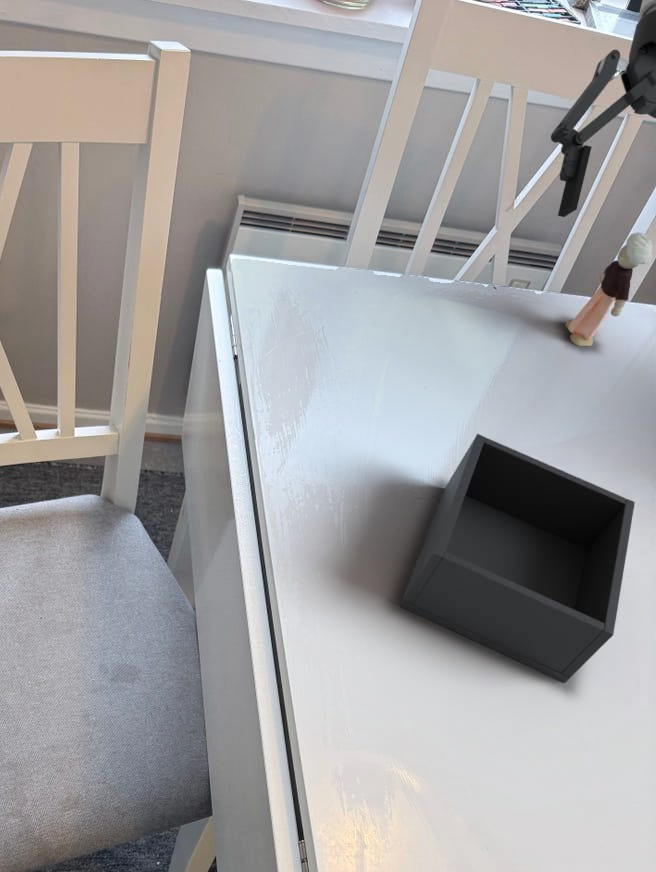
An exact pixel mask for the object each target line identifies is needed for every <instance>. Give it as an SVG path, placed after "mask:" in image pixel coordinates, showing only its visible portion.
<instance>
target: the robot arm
mask: <svg viewBox="0 0 656 872" xmlns="http://www.w3.org/2000/svg"><path fill="white" fill-rule="evenodd" d="M639 9H640V10H639V13H638V22H637V23H636V26H635V28H634V33H633V38H632V41H631V46H630V49H629V53H628V60H627V59H624V58H622V57H621V52H620V50H618V49H612V50H611V51H610V52H609V53H608V54H607V55H605V56H604V57H603V58H602V59H601V60H600V61H599V62H598V64H597V65H596V68H595V71H594V74H593V77H592V80H591V81H590V82H589V84H588V85H587V86H586V87H585V89H584V90H583V92H582V93H581V94H580V96H579V97H578V99H577V100H576V101H575V102H574V104H573V105H572V106H571V107H570V109H569V110H568V112H567V113H566V114H565V115H564V117H563V118H562V119H561V120H560V122H559V123H558V125H557V126H556V127H555V129H554V130H553V131H552V132H551V134H550V140H551V141H552V142H553V143H555V144H557V143H559V144H560V145H561V148H560V152H561V154H563V159H562V160H563V161H562V163H561V168H560V172H559V181H561V182H565V185H564V188H563V193H562V196H561V200H560V205H559V209H558V213H557V216H558V217H562V218H565V217H568V216H569V215H570V214H572V213H573V212H575V211H577V210H578V206H579V203H580V202H579V201H580V197H581V192H582V189H583V185H584V180H585V176H586V172H587V168H588V164H589V160H590V156H591V151H592V146H590V145H586V144H584V143H586V142H587V141H588V140H590V139H591V138H592V137H593V136H594V135H595V134H597V133H598V132H599V131H600V130H602V129H603V128H604V127H605V126H606V125H608V124H609V123H610V122H611V121H613V120H614V119H615V118H616V117H617V116H619V115H620V114H622V112H623V111H624V110H626V109H627V108H628V107H629V106H630V108H631V110H633V113H634V114H636V115H648V116H650V117H652V118H653V119H656V0H641V6H640V8H639ZM619 75H620V79H621V82H622V86H623V88H624V91H625V93H624V94H623V95H622V96H620V97H619V98H618V99H616V101H615V102H613V103H612V104H611V105H610V106H609V107H608V108H606V109H605V110H604V111H602V112H601V113H600V114H599V115H598V116H596V117H595V118H594V119H592V121H590V122H589V123H588V124H587V125H586V126H584V127H583V128H582V129H581V130H579V131H577V129H575V127H576V126H577V125H578V123H579V122H580V121H581V119H582V118H583V117H584V116H585V114H586V113H587V112H588V110H589V109H590V108H591V106H592V105H593V104H594V103H595V101H596V100H597V99H598V97H599V96H600V95H601V93H602V92H603V91H604V89H605V88H606V87H607V85H608V84H609V83H610V82H612V81H614V79H616V78H617V77H619Z"/></svg>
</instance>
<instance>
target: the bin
mask: <svg viewBox="0 0 656 872" xmlns="http://www.w3.org/2000/svg"><path fill="white" fill-rule="evenodd" d="M635 504H636V502H635V501H633V500H631V499H628V498H626V497H624V496H622V495H620V494H618V493H615V492H612V491H610V490H608V489H605V488H603V487H601V486H599V485H596V484H594V483H592V482H589V481H587V480H585V479H583V478H580V477H578V476H575V475H574V474H571V473H569V472H566V471H564V470H562V469H560V468H557V467H555V466H553V465H550V464H548V463H546V462H544V461H541V460H539V459H537V458H534V457H532V456H530V455H528V454H525V453H523V452H520V451H518V450H516V449H513V448H511V447H510V446H506V445H504V444H502V443H500V442H498V441H496V440H493V439H491V438H489V437H486V436H484V435H482V434H480V433H477V434H476V435H475V437H474V439H473V440H472V442H471V443H470V445H469V446H468V449H467V450H466V452H465V454H464V455H463V457H462V459H461V460H460V462H459V464H458V465H457V467H456V469H455V470H454V473H453V474H452V475H451V477H450V479H449V481H448V482H447V484H446V486H445V487H444V490H443V492H442V495H441V497H440V500H439V503H438V505H437V508H436V511H435V513H434V516H433V519H432V521H431V523H430V526H429V528H428V532H427V534H426V537H425V539H424V542H423V543H422V547H421V549H420V552H419V556H418V557H417V560H416V563H415V565H414V568H413V570H412V573H411V576H410V578H409V581H408V583H407V586H406V589H405V591H404V594H403V597H402V599H401V602H400V603H399V607H400V608H403V609H405V610H407V611H409V612H412V613H413V614H416V615H418V616H419V617H420V616H421V617H422V618H425V619H426V620H429V621H431V622H433V623H436V624H437V625H439V626H441V627H444V628H446V629H448V630H450V631H453V632H454V633H457V634H459V635H461V636H463V637H465V638H468V639H470V640H472V641H474V642H476V643H478V644H481V645H483V646H485V647H487V648H489V649H491V650H493V651H495V652H498V653H500V654H502V655H504V656H506V657H509V658H510V659H512V660H514V661H517V662H519V663H522V664H524V665H526V666H528V667H529V668H532V669H535V670H536V671H539V672H541V673H543V674H545V675H547V676H549V677H552V678H554V679H556V680H558V681H560V682H563V683H567V682H568V681H569V680H570V679H571V678H572V677H573V676H574V675H575V674H576V673H577V672H578V671H579V670H580V669H581V668H582V667H583V666H584V665H585V664H586V663H587V662H588V661H589V660H590V659H591V658H592V657H593V656H594V655H595V654H596V653H597V652H598V651H599V650H600V649H601V648H602V647H603V646H604V645H606V643H607V642H608V641H609V640H610V639H611V638H612V637H613V636H614V633H615V628H616V622H617V621H616V620H617V616H618V609H619V603H620V602H619V601H620V596H621V591H622V584H623V577H624V572H625V566H626V559H627V553H628V546H629V540H630V534H631V529H632V521H633V516H634V509H635Z"/></svg>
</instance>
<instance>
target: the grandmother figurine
mask: <svg viewBox="0 0 656 872" xmlns="http://www.w3.org/2000/svg"><path fill="white" fill-rule="evenodd" d="M652 260H653V243H652V242H651V240H650V239H649V238H648V237H647V235H645V233H643V232H633V233H631V234H630V235H629V236H628V237H627V239H626V244H625V245H624V246H623V247H622V248H621V249H620V250H619V251H618V254H617V260H613V261H612V262H611V263H610V264H609V265H607V267H606V268H605V269H604V270H603V272H602V273H601V275H600V276H599V277H598V279H597V281H598V283H599V284H600V286H599V287H598V289H597V290H596V291H595V292H594V294H593V295H592V296H591V297H590V299H589V300H588V301H587V302H586V304H584V306H583V307H582V309H581V310H580V311H579V312H578V313H577V315H575V317H574V318H572V319H570V320H568V321H567V322H566V323H565V328H566V329H567V330H568V332H570V333H571V334H570V336H569V339H570V341H571V342H572V343H573V344H574V345H576V346H578V347H579V346H580V347H592V346H593V343H594V340H593V338H594V336H595V334H596V333H597V331H598V329H599V328H600V326H601V325H602V323H603V321H605V318H606V317H607V316H608V314H609V311H610V314H611V317H612V316H613V317H619V316H620V315H621V313H622V309H623V308H624V306H625V304H626V303H627V302H628V300H629V295H630V289H631V280H632V277H633V269H635V268H636V267H638V266H639V265H645V264H649V263H651V261H652ZM612 305H613V307H612ZM611 307H612V308H611ZM610 309H611V310H610Z"/></svg>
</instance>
